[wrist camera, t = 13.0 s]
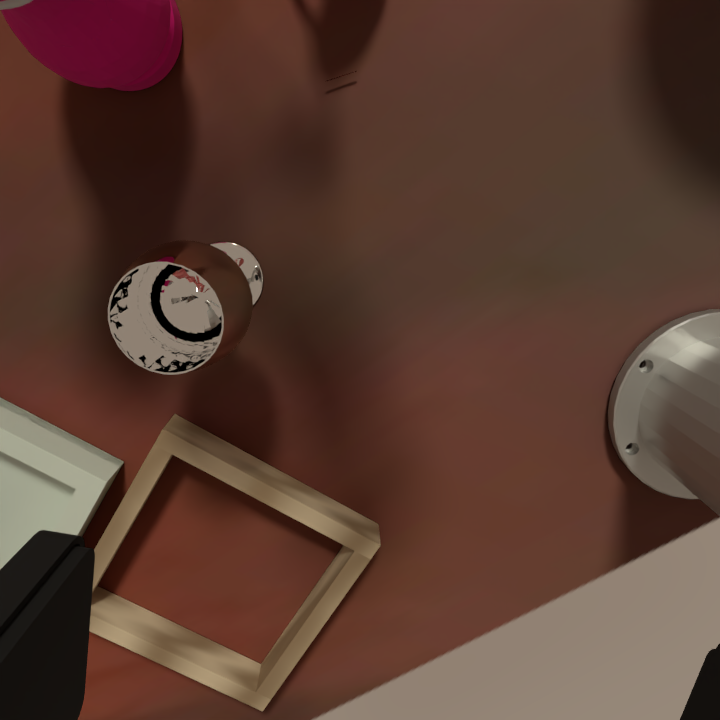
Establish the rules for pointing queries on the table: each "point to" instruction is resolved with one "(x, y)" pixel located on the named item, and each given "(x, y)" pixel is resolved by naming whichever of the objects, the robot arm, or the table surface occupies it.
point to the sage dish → (46, 479)
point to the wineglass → (184, 304)
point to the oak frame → (189, 648)
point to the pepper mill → (100, 39)
